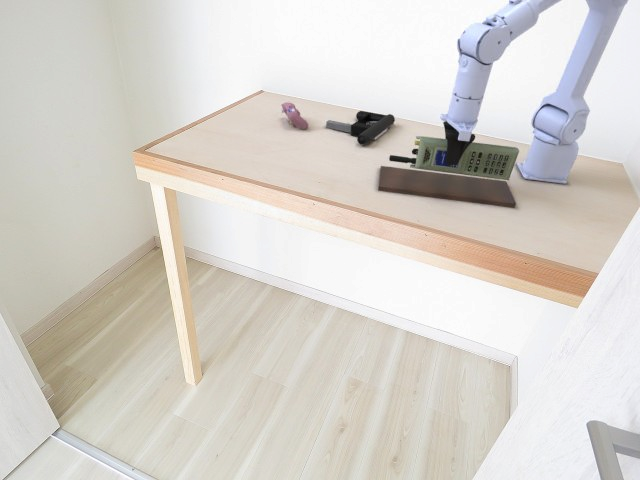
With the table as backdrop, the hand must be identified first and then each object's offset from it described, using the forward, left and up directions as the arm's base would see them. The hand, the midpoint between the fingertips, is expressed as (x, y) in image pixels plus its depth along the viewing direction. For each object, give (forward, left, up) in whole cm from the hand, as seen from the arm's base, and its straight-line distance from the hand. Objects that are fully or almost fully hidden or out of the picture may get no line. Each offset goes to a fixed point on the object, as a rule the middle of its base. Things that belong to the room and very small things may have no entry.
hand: (450, 160), depth 87 cm
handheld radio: (0, 0, -3) cm, 3 cm away
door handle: (+21, -28, -7) cm, 36 cm away
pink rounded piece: (+39, -27, -7) cm, 48 cm away
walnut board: (0, 0, -6) cm, 6 cm away
